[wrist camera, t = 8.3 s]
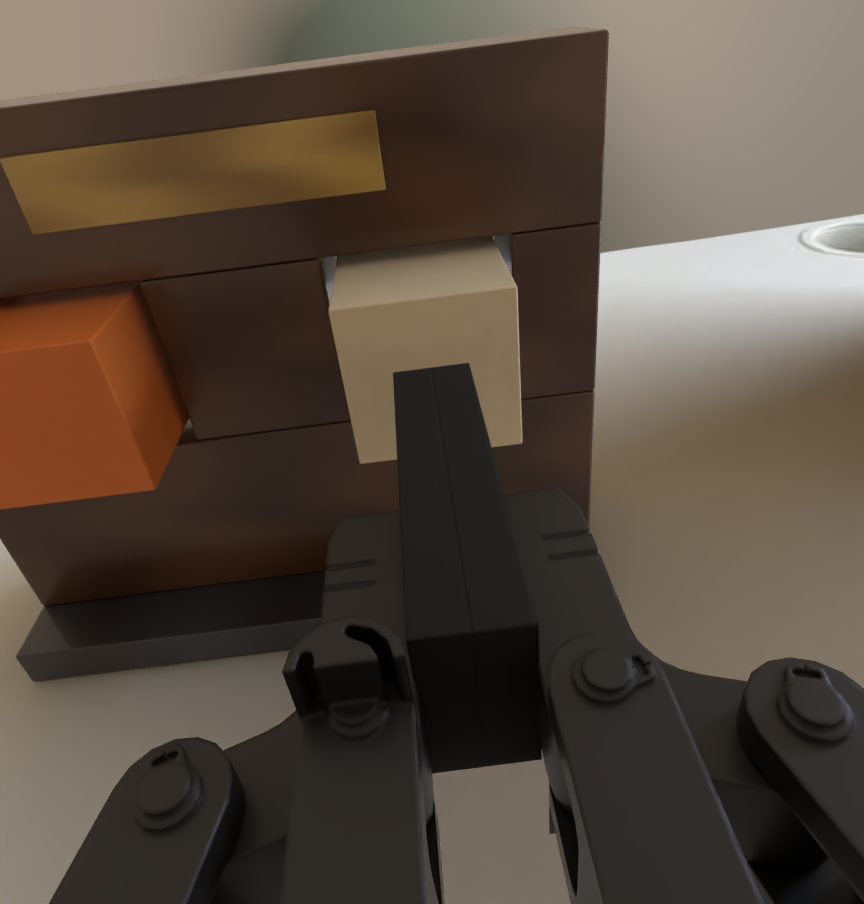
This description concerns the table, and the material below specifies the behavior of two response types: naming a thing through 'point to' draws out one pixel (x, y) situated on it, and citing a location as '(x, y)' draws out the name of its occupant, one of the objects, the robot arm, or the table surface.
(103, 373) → the orange key
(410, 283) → the beige key
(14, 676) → the table surface
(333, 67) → the brown wooden upright panel
